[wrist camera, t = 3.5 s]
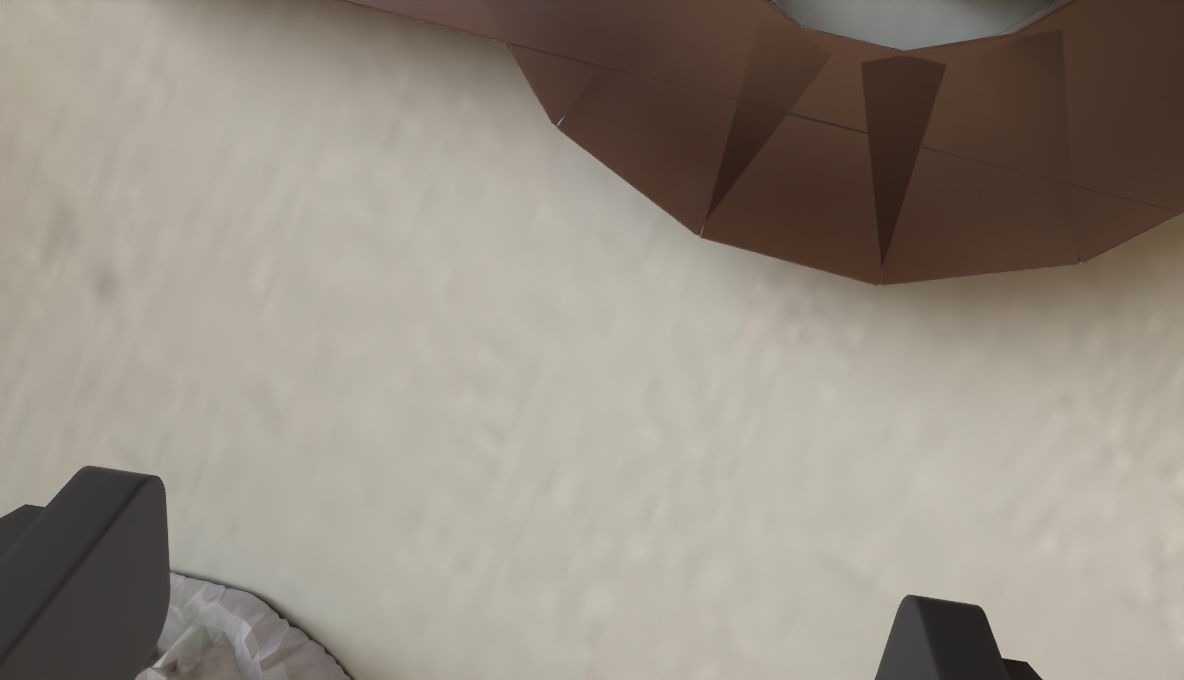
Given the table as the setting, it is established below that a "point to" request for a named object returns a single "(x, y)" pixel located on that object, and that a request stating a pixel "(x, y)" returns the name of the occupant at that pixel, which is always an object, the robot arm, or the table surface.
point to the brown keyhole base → (864, 127)
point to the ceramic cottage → (231, 639)
